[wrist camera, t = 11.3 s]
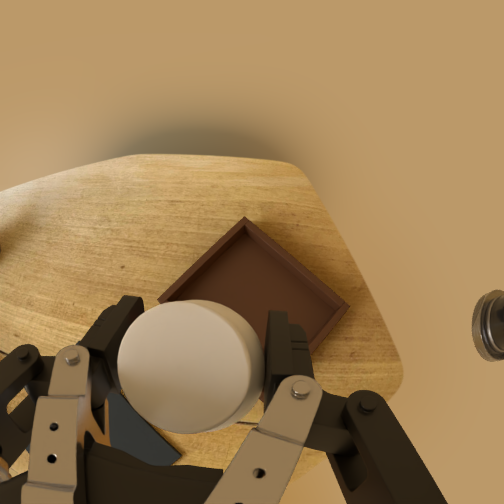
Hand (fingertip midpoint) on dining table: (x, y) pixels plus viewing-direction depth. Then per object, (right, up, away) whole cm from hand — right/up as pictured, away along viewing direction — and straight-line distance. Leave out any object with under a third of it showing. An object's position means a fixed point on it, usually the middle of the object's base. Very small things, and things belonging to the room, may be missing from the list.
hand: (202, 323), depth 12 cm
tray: (+2, -3, +21) cm, 21 cm away
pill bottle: (0, -4, +4) cm, 6 cm away
